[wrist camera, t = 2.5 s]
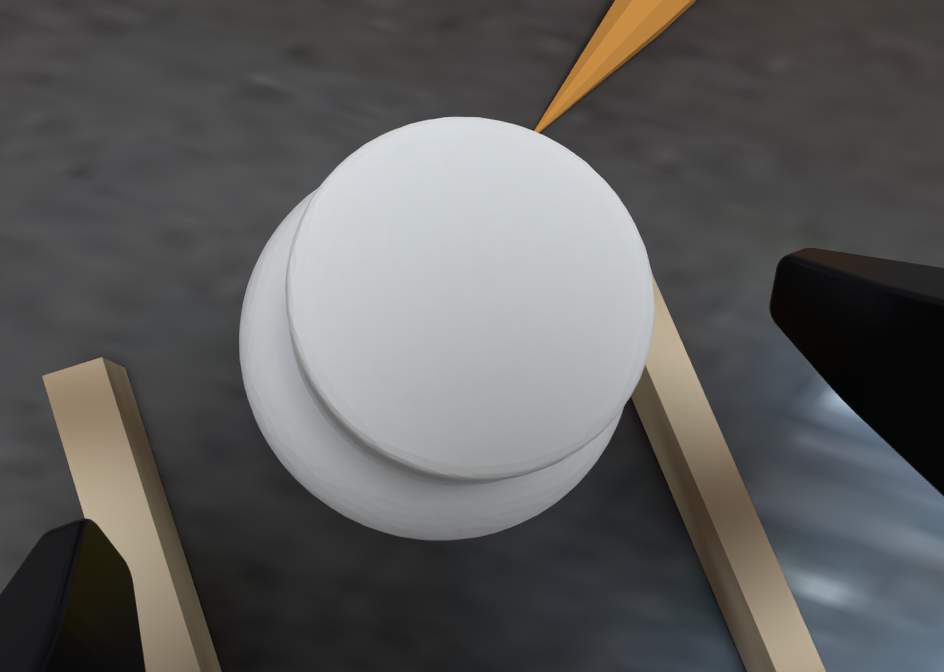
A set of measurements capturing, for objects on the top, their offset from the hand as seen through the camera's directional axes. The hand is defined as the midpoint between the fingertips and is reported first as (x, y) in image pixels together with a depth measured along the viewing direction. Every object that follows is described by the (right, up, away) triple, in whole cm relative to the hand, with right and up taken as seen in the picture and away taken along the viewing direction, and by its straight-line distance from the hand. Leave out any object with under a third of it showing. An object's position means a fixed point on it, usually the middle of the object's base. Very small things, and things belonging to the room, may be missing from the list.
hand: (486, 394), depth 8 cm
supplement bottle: (-2, -1, +9) cm, 9 cm away
